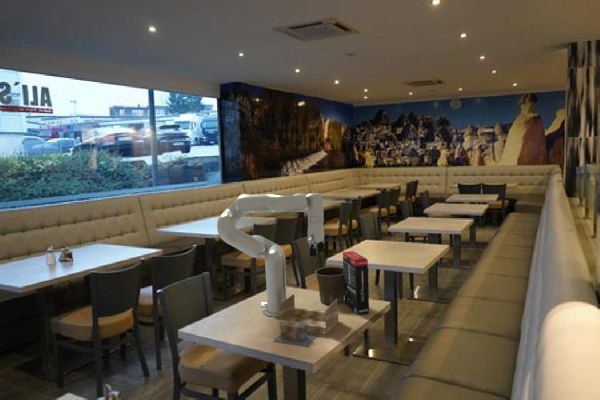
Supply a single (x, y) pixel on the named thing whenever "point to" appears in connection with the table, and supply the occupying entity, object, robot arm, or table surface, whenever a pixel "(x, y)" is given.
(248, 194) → the robot arm
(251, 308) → the table surface
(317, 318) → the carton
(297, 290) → the table surface
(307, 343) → the rubber mat
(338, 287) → the plant pot
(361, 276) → the graphics card box
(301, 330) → the walnut block
